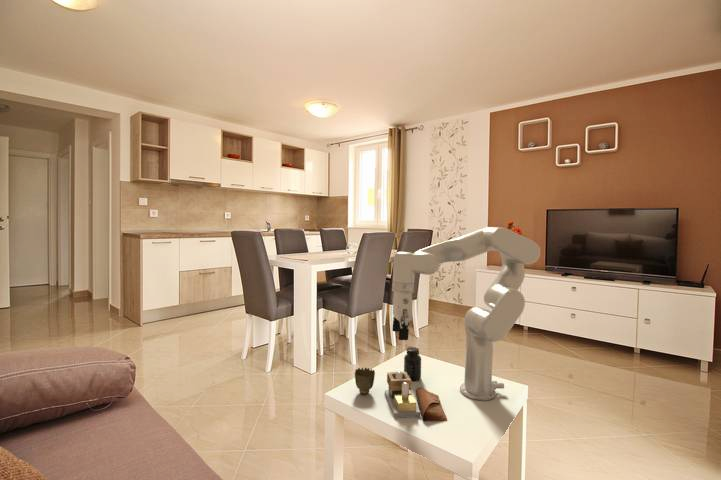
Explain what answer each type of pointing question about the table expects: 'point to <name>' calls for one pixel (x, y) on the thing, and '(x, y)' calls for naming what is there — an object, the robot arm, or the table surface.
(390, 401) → the parts board
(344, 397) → the table surface
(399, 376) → the stand rod
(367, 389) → the cup
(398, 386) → the collar
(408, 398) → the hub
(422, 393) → the sunglasses case
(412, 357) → the supplement bottle
